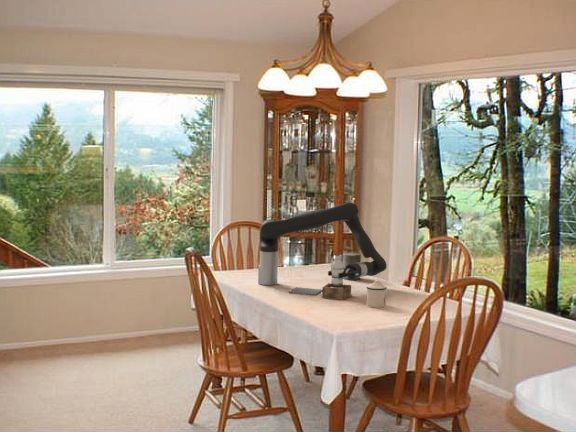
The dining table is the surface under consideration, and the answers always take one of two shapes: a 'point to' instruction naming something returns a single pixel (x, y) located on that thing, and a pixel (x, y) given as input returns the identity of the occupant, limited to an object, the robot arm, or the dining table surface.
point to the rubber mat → (305, 291)
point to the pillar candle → (351, 261)
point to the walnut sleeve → (336, 292)
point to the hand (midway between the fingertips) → (334, 274)
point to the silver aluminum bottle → (337, 272)
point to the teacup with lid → (376, 295)
